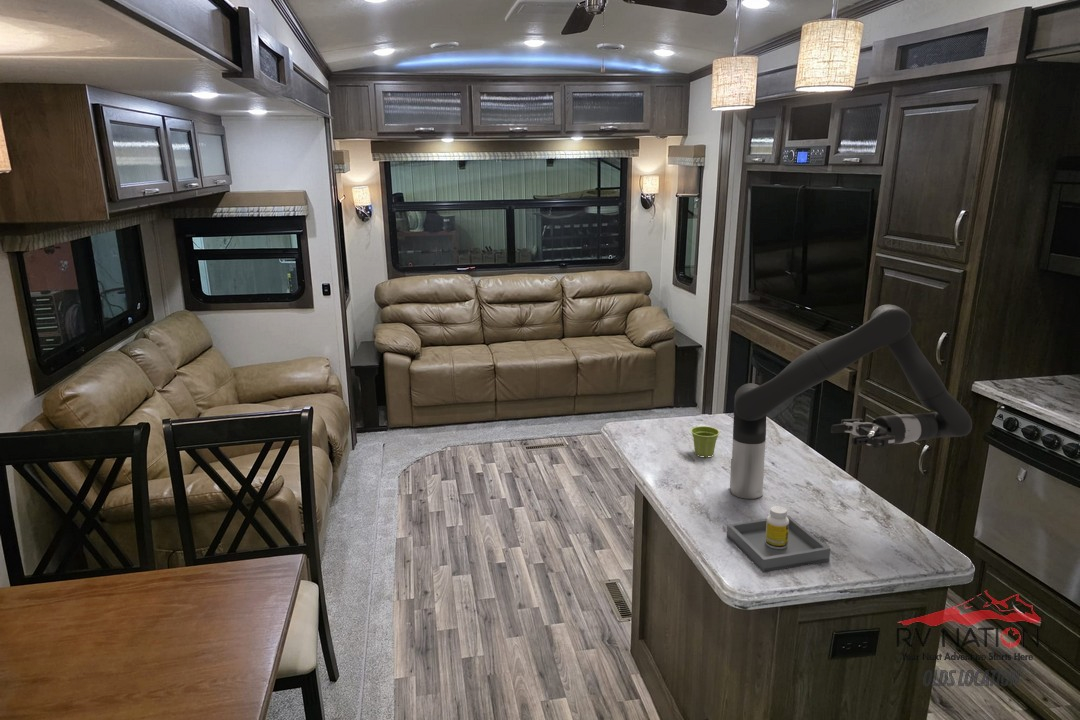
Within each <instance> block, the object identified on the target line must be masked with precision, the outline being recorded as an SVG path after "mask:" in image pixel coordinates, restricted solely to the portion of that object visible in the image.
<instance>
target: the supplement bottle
mask: <svg viewBox="0 0 1080 720" xmlns="http://www.w3.org/2000/svg"><path fill="white" fill-rule="evenodd" d="M787 515H788V510H787V508H785V507H783V506H779V505H774V506H772V507H770V510H769V515H768V516H767V517H766V519H767V523H766V538H765V543H766V545H767V546H769V547H771V548H773V549H784V548H786V547H787V544H788V531H789V519H788V518H787V517H786V516H787Z"/></svg>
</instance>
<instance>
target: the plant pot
mask: <svg viewBox="0 0 1080 720" xmlns="http://www.w3.org/2000/svg"><path fill="white" fill-rule="evenodd" d="M690 432H691V434H692V439H693V447H694V454H695V453H696V454H697V455H699V456H704V457H706V458H709V457H708V456H712V455H713V456H714V453H715V448H716V445H717V444H716V443H717V439H718V436H719V434H720V430H719V429H718V428H715V427H712V426H707V425H705V426H702V425H700V426H699V425H698V426H694V427H693V428H691V430H690ZM696 454H695V455H696ZM713 456H712V457H713Z"/></svg>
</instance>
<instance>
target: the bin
mask: <svg viewBox="0 0 1080 720" xmlns="http://www.w3.org/2000/svg"><path fill="white" fill-rule="evenodd" d="M786 517H787V518H788V519H789V531H788V544H787V547H786V548H784V549H773V548H771V547H769V546H767V545H766V543H765V538H766V523H767V518H761V519H756V520H755V519H754V520H749V521H742V522H736V523H730V524H729V523H728V524H727V529H726V537H727V539H729V540H730V542H732V543H733V544H734V545H735V547H737V548H738V549H739V551H740V552H741V553H742V554H743V555H745V556H746V557H747V558H748V560H750V562H752V563H753V564H754V566H755V567H756V568H757V569H759V570H760V571H761V572H762V573H770V572H775V571H782V570H787V569H792V568H798V567H804V566H805V567H806V566H810V565H818V564H823V563H829V562H830V557H831V548H830V547H829V546H827V545H826V544H825V543H824V542H823V541H822V540H820V539H819V538H818V537H816V536H815V535H814V534H813V533H811V532H810V531H809V530H807V528H805V527H804V526H803V525H802V524H800V522H798V521H797V520H795V519H794V518H793V517H792V516H790V515H789V514H787V516H786Z"/></svg>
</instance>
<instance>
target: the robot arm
mask: <svg viewBox="0 0 1080 720" xmlns="http://www.w3.org/2000/svg"><path fill="white" fill-rule="evenodd" d="M911 327H912V319H911V316H910V314H909V313H908V312H907V311H906V310H904V309H903V308H902V307H900V306H899V305H895V304H883V305H879V306H877V307H876V308H875V309H874V310H873V312H872V313H871V315H870V318H869V320H868V321H866V322H864V324H861V325H860V326H859V327H857V328H856V329H854V330H852V331H850V332H848V333H846V334H844V335H840V336H837V337H835V338H833V339H832V338H831V339H830V340H827V341H824V342H822V343H820V344H818V345H815V346H814V347H812V348H810V349H809V350H807V351H805V352H803V353H802V354H800V355H799V356H798V357H796V358H795V359H794V360H792V361H791V362H790V363H789V364H787V366H785V368H784V369H782V370H781V371H780V372H779V373H778V374H777V375H775V377H773V378H772V379H770V380H767V381H766V382H764V383H763V384H760V385H759V384H756V383H752V382H751V383H745V384H743V385H741V386H739V388H737V390H736V391H735V394H734V403H733V422H732V423H733V424H732V427H733V428H732V449H731V450H732V452H731V454H732V455H731V460H730V478H729V488H730V493H731V494H732V495H733V496H735V497H737V498H739V499H745V500H753V499H759V498H761V497H762V496H763V494H764V493H763V492H764V491H763V490H764V476H765V474H764V473H765V460H766V459H765V457H766V443H767V442H766V440H767V439H766V438H767V437H766V436H767V415H768V414H769V413H771V412H772V411H773V410H775V409H776V408H778V407H779V406H780V405H782V404H783V403H785V402H786V401H788V400H790V399H792V398H794V397H796V396H798V395H800V394H802V393H804V392H806V391H807V390H809V389H812V388H813V387H815V386H817V385H818V384H821V383H822V382H823V383H824V381H826V380H828V379H830V378H831V377H834V376H835V375H836V374H838V373H839V372H842V371H844V369H846V368H848V367H851V365H853V364H854V363H856V362H858V361H859V360H861V359H862V358H863V357H865V356H867V355H870V354H871V353H873V352H875V351H877V350H879V349H882V348H884V347H887V348H889V350H890V352H891V353H892V354H893V356H894V358H895V359H896V360H897V362H898V364H899V366H900V368H901V370H902V372H903V374H904V375H905V377H906V379H907V381H908V384H909V385H910V387H911V388H912V390H913V392H914V394H915V395H916V397H917V398H918V400H919V402H920V404H921V405H922V406H923V407H924V408H926V409H929V410H932V411H933V412H927V413H912V414H903V413H900V414H892V415H881V416H877V417H876V418H875V419H874V420H873V421H872V422H870V421H869V422H868V421H865V422H863V418H858V417H857V418H846V419H845V418H844V419H841V421H840V422H841V423H837V424H832V425H831V426H830V433H832V434H840V433H847V434H848V433H849V434H852V437H851V442H850V443H851V445H853V446H861V445H862V446H865V445H867V446H872V447H873V448H875V449H880V448H886V447H887V448H888V447H894V445H901V444H908V443H912V442H917V441H918V442H919V441H924V440H925V441H926V440H931V439H934V438H957V437H958V438H962V437H965V436H968V435H969V434H970V433H971V432H972V429H973V420H972V417H971V416H970V414H969V412H968V410H966V409H965V407H963V405H961V403H960V402H959V401H958V400H957V399H956V398H955V397H954V396H953V395H951V393H949V392H948V390H947V388H946V386H945V385H944V384H945V383H944V382H943V381H942V379H941V377H940V376H939V374H938V372H937V371H936V370H935V369H934V367H933V366H932V364H931V363H930V362H929V359H927V358H926V356H925V354H924V353H923V351H922V350H921V349H920V347H919V345H918V344H917V343H916V340H915V338H914V336H913V334H912V331H911Z"/></svg>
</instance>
